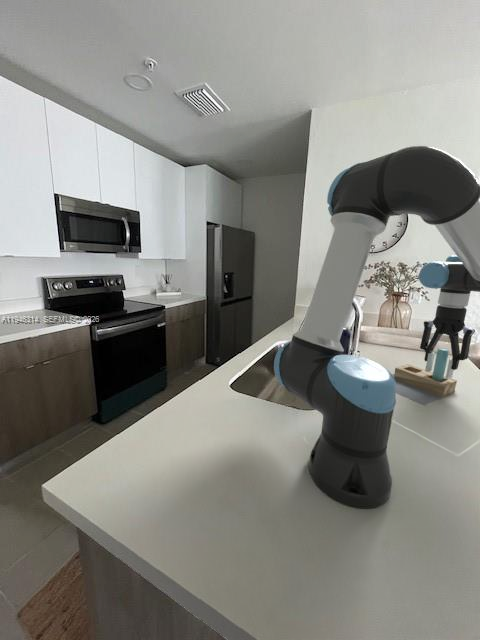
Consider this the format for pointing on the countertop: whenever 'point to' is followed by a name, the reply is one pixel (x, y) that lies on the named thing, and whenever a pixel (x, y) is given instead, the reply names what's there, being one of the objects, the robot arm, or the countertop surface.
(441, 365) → the peg
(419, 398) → the mat
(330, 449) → the robot arm
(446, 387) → the block
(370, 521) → the countertop surface
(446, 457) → the countertop surface
